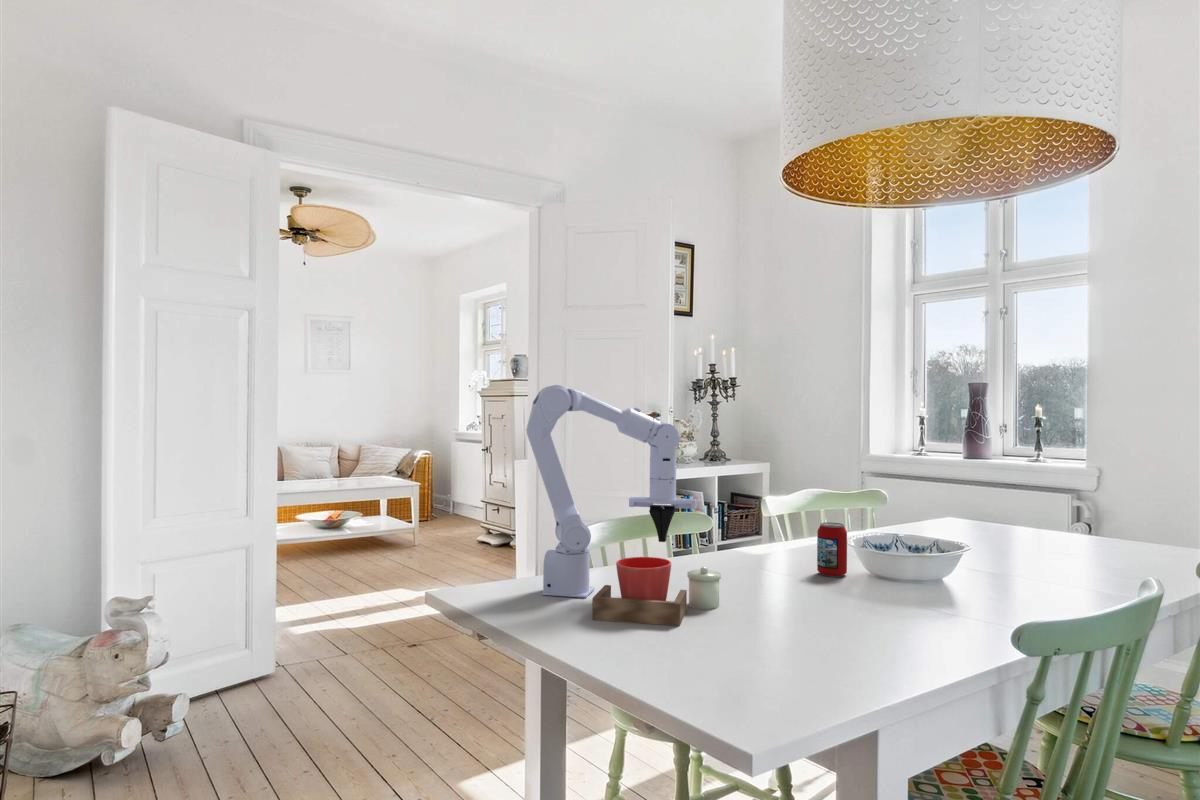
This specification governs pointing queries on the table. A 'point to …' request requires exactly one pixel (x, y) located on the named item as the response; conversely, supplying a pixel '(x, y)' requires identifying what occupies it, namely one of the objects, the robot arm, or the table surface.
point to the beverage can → (832, 549)
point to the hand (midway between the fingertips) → (662, 541)
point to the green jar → (704, 588)
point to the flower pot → (644, 578)
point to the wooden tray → (638, 609)
